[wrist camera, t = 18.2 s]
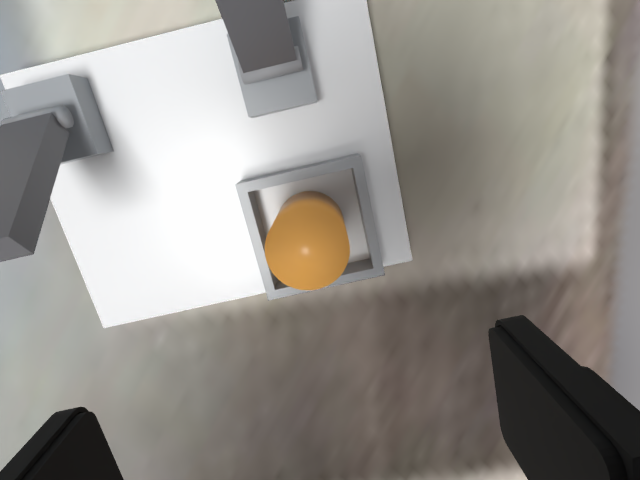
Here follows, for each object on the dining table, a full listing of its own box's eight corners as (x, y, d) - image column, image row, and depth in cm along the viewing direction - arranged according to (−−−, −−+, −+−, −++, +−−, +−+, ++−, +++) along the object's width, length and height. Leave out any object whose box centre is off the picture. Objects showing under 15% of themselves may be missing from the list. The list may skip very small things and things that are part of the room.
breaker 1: (76, 119, 23) (37, 253, 18) (23, 132, 23) (-31, 269, 18) (59, 98, 22) (12, 235, 17) (3, 112, 22) (-61, 252, 17)
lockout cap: (350, 247, 27) (358, 280, 21) (286, 262, 28) (277, 298, 22) (335, 183, 26) (339, 199, 20) (269, 200, 26) (254, 219, 21)
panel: (406, 251, 30) (419, 270, 26) (116, 315, 31) (88, 342, 27) (359, -7, 25) (367, -31, 21) (22, 78, 26) (-28, 70, 22)
